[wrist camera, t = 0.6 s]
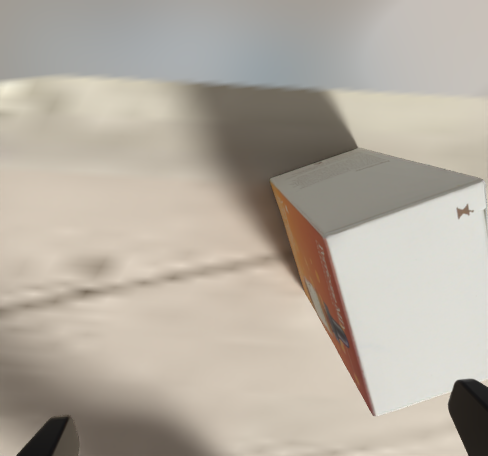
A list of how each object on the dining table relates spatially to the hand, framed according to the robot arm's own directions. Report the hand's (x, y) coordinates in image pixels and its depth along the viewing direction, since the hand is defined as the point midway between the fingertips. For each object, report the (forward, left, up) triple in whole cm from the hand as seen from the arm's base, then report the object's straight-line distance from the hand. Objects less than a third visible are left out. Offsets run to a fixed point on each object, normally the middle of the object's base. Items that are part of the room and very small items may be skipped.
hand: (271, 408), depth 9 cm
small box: (+1, -6, -15) cm, 16 cm away
